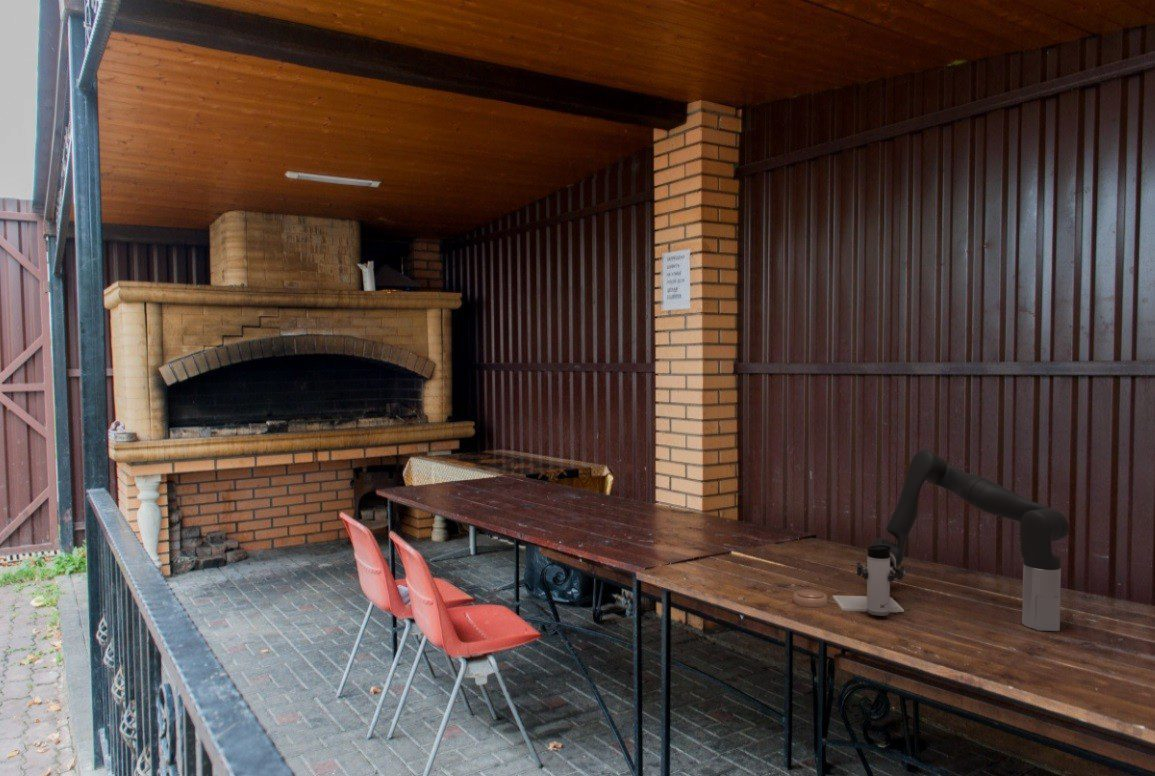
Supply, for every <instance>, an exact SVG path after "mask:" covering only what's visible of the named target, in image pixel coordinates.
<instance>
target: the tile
mask: <svg viewBox="0 0 1155 776" xmlns="http://www.w3.org/2000/svg"><path fill="white" fill-rule="evenodd" d="M832 600H833V601H834V602H835V603H836V604H837V606H838V607H839V608H840V610H841V611H842V612H866V611H867V595H865V596H864V595H863V596H862V595H832ZM889 609H890V613H898V612H904V613H905V609H904V608H903V607H902V606H901V605H900V604H899V603H898V602H897V601H896V600H894V599H893V597H891V596H890V607H889Z"/></svg>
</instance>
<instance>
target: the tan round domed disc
mask: <svg viewBox="0 0 1155 776" xmlns="http://www.w3.org/2000/svg"><path fill="white" fill-rule="evenodd" d="M793 603H794V604H796V605H798V606H800V607H806V608H823V607H826V606H827V605H828V595H827V594H826V593H824V592H822V591H820V590H818V589H817V590H816V589H813V588H812V589H811V588H810V589H809V588H806V589H805V588H804V589H798V590H796V591H794V592H793Z"/></svg>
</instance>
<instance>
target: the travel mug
mask: <svg viewBox="0 0 1155 776" xmlns="http://www.w3.org/2000/svg"><path fill="white" fill-rule="evenodd" d="M890 549H892V548H891V546H887V545H874V546H871V545H870V546H868V547H867V558H866V561H867V563H866V565H867V580H866V596H867V613H868V614H870V615H873V616H879V617H883V616H888V615H889V614H890V613H891V612H890V609H889V607H890V597H891V596H890V595H891V594H890V591H891V582H889V573H890Z"/></svg>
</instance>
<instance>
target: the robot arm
mask: <svg viewBox="0 0 1155 776" xmlns="http://www.w3.org/2000/svg"><path fill="white" fill-rule="evenodd" d="M907 469H908V470H907V473H906V476H905V480H904V483H903V486H902V490H901V492H900V495H899V496H900V497H899V498H898V501H897V504H896V506H895V509H894V510H893V513H892V514H891V517H890V519H889V520H888V523H887V525H886V528H885V529H886V532H887V533H888V534H890V535H891V536H893V537H894V538H895V539H896V541H897V544H894V543H893V542H891V541H889V540H886V539H885V538H883V537H882V538H881V537H878V538H875V539H874V540H873V541H872V542H871V543H870V546H874V545H887V546H891V548H892V549H890V573H889V582H890V583H892V582H893V581H895V580H896V579H897V580H898V581H902V580H903V579H904V578H905V576H906V567H904V566H900V565H901V564H902V563H903V560H904V557H905V556H904V555H905V550H906V545H907V540H908V537H909V534H910V532H911V530H912V528H913V527H914V524H915V522H916V521H917V516H918V513H919V512H918V510H919V498H920V494H921V490H922V487H923V485H924V483H925V481H926V482H927V483H930V484H933V485H935V486H939V487H941V488H944V489H946V490H948V491H951V492H952V493H954V494H955V495H957V496H958V497H959V498H961V500H963V501H964V502H967V504H970V506H973V507H975V508H977V509H978V510H980V511H983V512H986V513H987V514H991V515H994V516H998V517H1002V518H1006V519H1010V520H1014V521H1017V522H1019V523H1020V524H1019V543H1020V554H1021V556H1022V559H1023V563H1022V564H1023V565H1022V566H1023V567H1022V568H1023V570H1022V602H1021V603H1022V604H1021V605H1022V610H1021V611H1022V614H1021V618H1022V620H1021V624H1022V625H1023V626H1025V627H1027V628H1029V629H1034V630H1036V631H1045V632H1060V630H1061V628H1060V627H1061V600H1062V599H1061V579H1062V578H1061V576H1062V573H1061V571H1062V560H1061V558H1060V557H1059V556H1058V555H1055V554H1054V553H1053V551H1052V549H1053V548H1052V542H1057V541H1060V540H1063V539H1064V538H1065V537H1067V536H1068V534H1069V532H1070V524H1069V521H1068V519H1067V518H1066V516H1065V515H1064V514H1063V513H1061V512H1060V511H1058V510H1057V509H1054V508H1052V507H1049V506H1045V505H1043V504H1040V503H1038V502H1034V501H1032V500H1030V499H1027V498H1025V497H1024V496H1022V495H1020V494H1019V493H1015V492H1014V491H1012V490H1010V489H1008V488H1006V487H1004V486H1002V485H1000V484H998V483H996V482H994V481H992V480H990V479H987V478H985V477H983V476H980V475H978V474H973V473H968V472H965V471H963V470H961V469H960V468H958V467H956V466H954V464H951V463H950V462H948V461H947V460H945V459H944V458H943V457H941V456H940V455H939V454H937V453H935V452H933V451H932V450H929V449H922V450H918V451H917V452H916V453H915V454H914V455H913V456H912V458H911V460H910V463H909V467H908V468H907ZM899 566H900V567H899ZM897 567H898V568H897ZM856 575H857V576H858V577H861V578H863V579H864V580H866V581H867V564H866V565H863V564H862V563H861V562H856Z"/></svg>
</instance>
